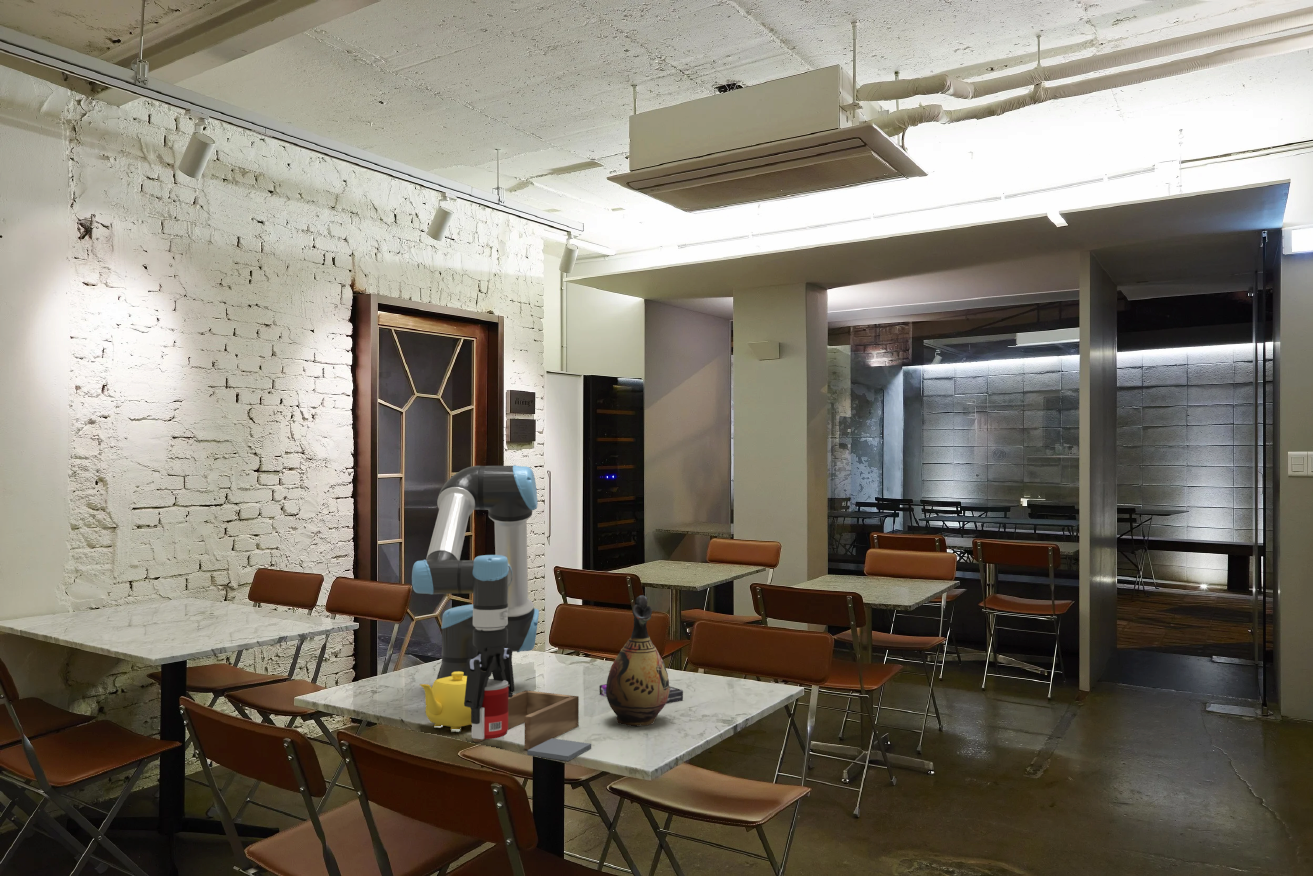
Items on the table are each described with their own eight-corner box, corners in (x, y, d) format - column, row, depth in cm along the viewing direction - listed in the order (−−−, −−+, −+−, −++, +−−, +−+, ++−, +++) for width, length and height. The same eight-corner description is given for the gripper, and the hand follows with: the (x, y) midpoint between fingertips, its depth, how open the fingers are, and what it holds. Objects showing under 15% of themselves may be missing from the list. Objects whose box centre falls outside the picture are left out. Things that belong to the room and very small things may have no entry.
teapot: (503, 723, 221) (504, 669, 221) (438, 742, 205) (439, 684, 205) (465, 714, 229) (465, 663, 230) (399, 732, 213) (400, 676, 213)
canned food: (514, 730, 201) (514, 680, 201) (496, 741, 194) (496, 688, 194) (483, 727, 204) (483, 677, 204) (464, 737, 196) (465, 685, 196)
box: (599, 698, 250) (641, 710, 235) (598, 684, 250) (641, 696, 235) (640, 690, 259) (684, 701, 243) (639, 677, 259) (683, 688, 243)
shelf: (473, 741, 205) (473, 709, 206) (525, 719, 224) (525, 690, 225) (530, 749, 199) (530, 717, 199) (578, 726, 218) (578, 696, 218)
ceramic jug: (672, 729, 215) (672, 600, 217) (606, 730, 214) (607, 601, 215) (666, 711, 232) (665, 592, 233) (605, 712, 231) (605, 592, 232)
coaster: (527, 755, 195) (527, 750, 195) (552, 742, 204) (552, 738, 204) (568, 761, 191) (568, 756, 191) (591, 748, 200) (591, 743, 200)
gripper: (475, 637, 188) (475, 748, 188) (531, 620, 207) (530, 722, 207) (446, 634, 191) (445, 743, 191) (503, 618, 210) (502, 718, 210)
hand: (489, 732), depth 199 cm, fingers closed on canned food, 8 cm apart
